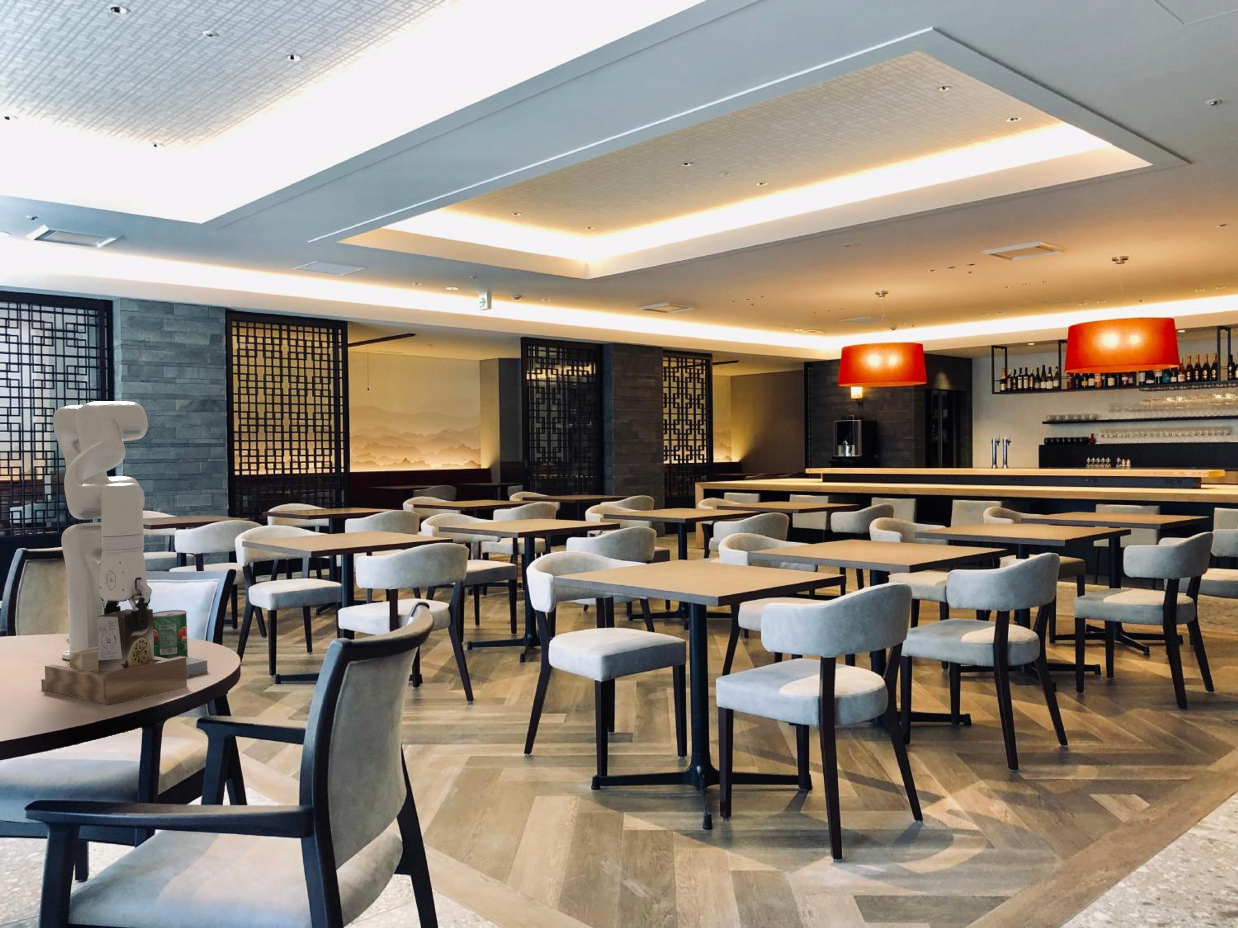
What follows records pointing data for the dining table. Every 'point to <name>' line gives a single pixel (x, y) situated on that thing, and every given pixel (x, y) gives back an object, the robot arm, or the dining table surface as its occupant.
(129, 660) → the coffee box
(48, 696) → the dining table surface
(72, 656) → the offcut top
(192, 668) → the trivet
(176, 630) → the canned tomato
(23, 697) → the dining table surface
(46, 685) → the tray
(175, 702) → the dining table surface
